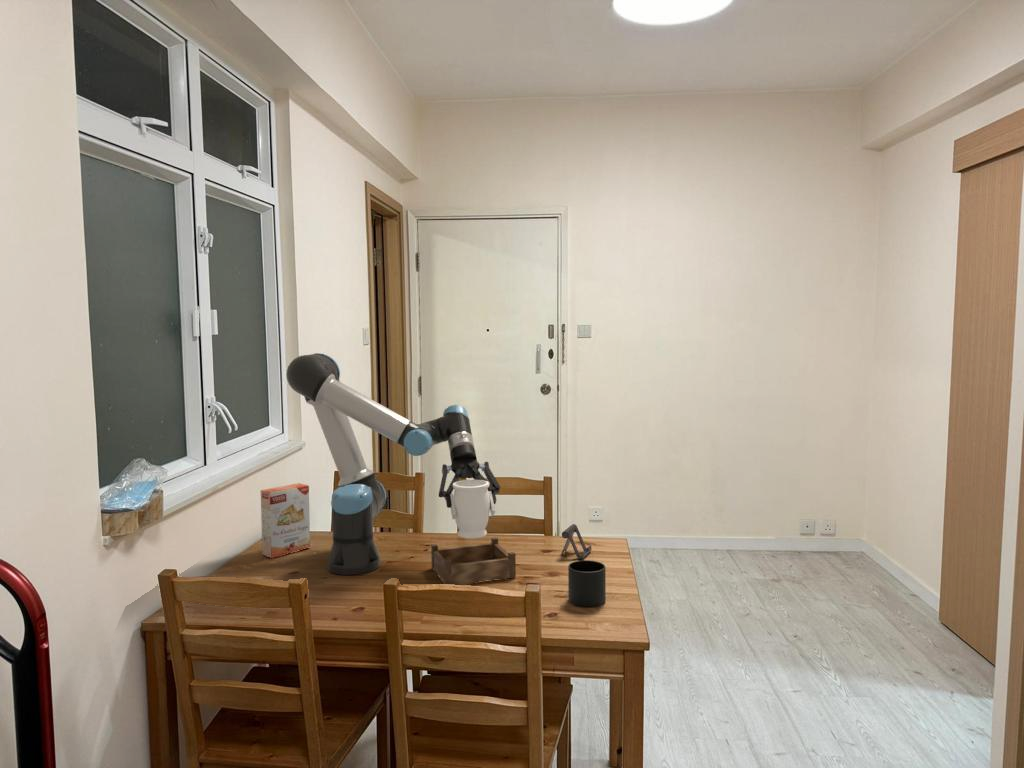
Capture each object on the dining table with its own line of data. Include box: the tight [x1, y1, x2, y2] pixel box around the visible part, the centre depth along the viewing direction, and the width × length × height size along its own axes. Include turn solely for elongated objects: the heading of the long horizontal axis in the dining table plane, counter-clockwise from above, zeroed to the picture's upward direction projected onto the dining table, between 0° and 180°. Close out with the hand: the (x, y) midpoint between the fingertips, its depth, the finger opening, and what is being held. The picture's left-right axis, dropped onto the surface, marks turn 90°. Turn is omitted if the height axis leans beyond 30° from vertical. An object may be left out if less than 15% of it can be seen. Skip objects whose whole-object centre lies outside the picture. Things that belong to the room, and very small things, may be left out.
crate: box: [430, 537, 517, 586], centre depth 207 cm, size 20×17×7 cm
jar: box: [453, 479, 490, 540], centre depth 206 cm, size 11×10×15 cm
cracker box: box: [260, 482, 311, 559], centre depth 228 cm, size 14×6×21 cm, turn 139°
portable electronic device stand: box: [560, 523, 592, 561], centre depth 222 cm, size 9×8×8 cm
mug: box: [567, 559, 607, 608], centre depth 187 cm, size 9×12×9 cm
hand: (473, 515), depth 203 cm, fingers closed on jar, 10 cm apart
